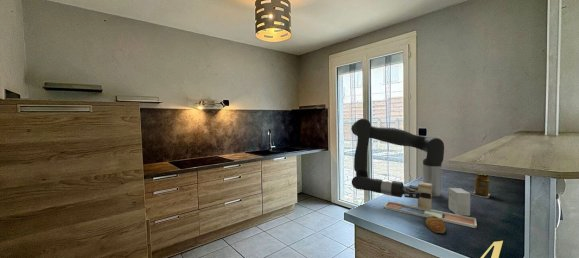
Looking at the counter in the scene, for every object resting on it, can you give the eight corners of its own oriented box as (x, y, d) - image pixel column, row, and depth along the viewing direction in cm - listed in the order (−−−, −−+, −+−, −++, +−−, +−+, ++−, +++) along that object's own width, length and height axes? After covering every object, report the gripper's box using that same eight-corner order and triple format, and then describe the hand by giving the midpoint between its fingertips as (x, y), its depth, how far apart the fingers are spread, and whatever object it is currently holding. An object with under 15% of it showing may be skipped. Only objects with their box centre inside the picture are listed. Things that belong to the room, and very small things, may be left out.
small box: (470, 216, 104) (471, 193, 103) (456, 215, 105) (457, 192, 104) (460, 209, 112) (461, 188, 111) (448, 208, 113) (448, 187, 112)
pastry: (450, 236, 87) (450, 226, 87) (430, 233, 89) (430, 224, 89) (441, 225, 96) (442, 216, 96) (423, 223, 98) (423, 214, 98)
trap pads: (388, 203, 120) (388, 203, 120) (474, 220, 99) (474, 220, 99) (385, 207, 114) (385, 207, 114) (474, 227, 93) (474, 226, 93)
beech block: (419, 204, 111) (419, 182, 110) (431, 206, 108) (431, 183, 107) (417, 207, 107) (418, 184, 106) (430, 210, 104) (430, 186, 103)
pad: (425, 210, 110) (425, 210, 110) (442, 214, 106) (442, 214, 106) (423, 215, 105) (423, 215, 105) (441, 219, 100) (441, 219, 100)
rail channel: (388, 202, 121) (388, 200, 121) (475, 220, 99) (475, 218, 99) (383, 208, 114) (383, 206, 114) (476, 228, 92) (476, 226, 92)
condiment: (490, 194, 132) (490, 174, 132) (488, 198, 126) (489, 176, 126) (474, 191, 137) (474, 172, 137) (471, 195, 131) (472, 174, 131)
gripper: (388, 184, 110) (430, 190, 99) (395, 177, 121) (433, 183, 111) (388, 199, 110) (429, 207, 100) (395, 191, 121) (433, 198, 111)
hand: (431, 194), depth 105 cm, fingers closed on beech block, 5 cm apart
